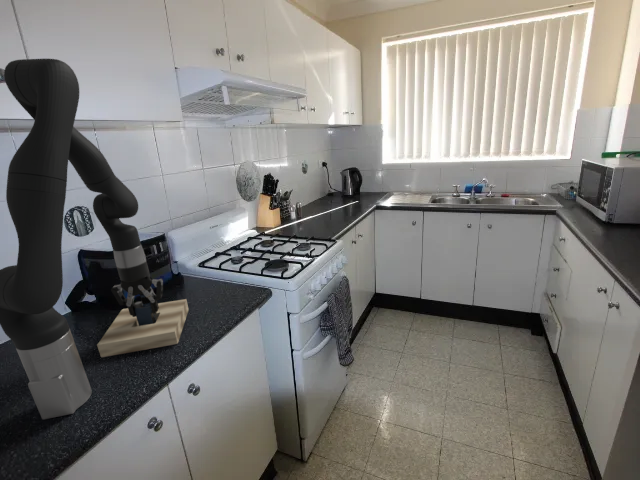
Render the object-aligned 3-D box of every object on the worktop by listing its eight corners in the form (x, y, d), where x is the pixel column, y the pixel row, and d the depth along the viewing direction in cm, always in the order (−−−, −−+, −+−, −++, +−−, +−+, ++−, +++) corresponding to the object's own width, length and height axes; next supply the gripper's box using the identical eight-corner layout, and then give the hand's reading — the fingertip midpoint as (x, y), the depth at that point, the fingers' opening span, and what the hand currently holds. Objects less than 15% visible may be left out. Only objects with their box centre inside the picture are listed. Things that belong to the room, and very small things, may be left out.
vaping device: (154, 328, 101) (145, 292, 98) (137, 329, 102) (127, 293, 98) (159, 323, 104) (149, 288, 100) (142, 324, 104) (132, 289, 100)
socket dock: (177, 343, 96) (174, 331, 94) (101, 357, 92) (97, 345, 91) (188, 309, 114) (186, 299, 113) (125, 319, 111) (122, 309, 110)
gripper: (98, 270, 91) (115, 324, 97) (154, 263, 94) (167, 316, 99) (109, 260, 98) (124, 311, 104) (161, 253, 101) (173, 304, 106)
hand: (145, 313), depth 101 cm, fingers closed on vaping device, 5 cm apart
